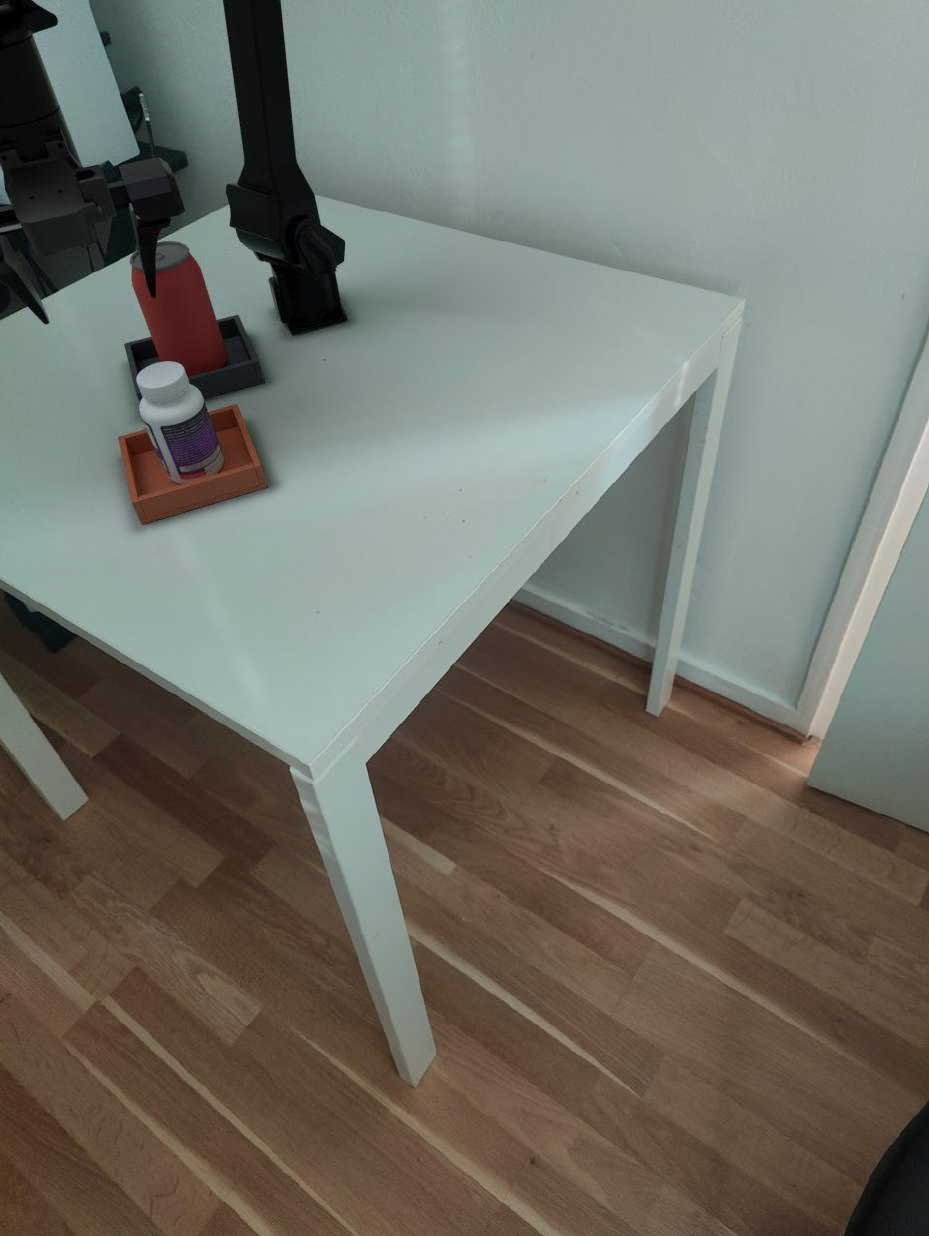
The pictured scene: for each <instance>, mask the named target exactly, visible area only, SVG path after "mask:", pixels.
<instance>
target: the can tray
mask: <svg viewBox="0 0 929 1236" xmlns="http://www.w3.org/2000/svg"><path fill="white" fill-rule="evenodd" d="M216 320H217V323H218V326H219V329H220V333H221V336H222V339H223V342H224V346H225V349H226V352H227V361H226V363H225V365H224V367H223V368H220V369H216V370H212V371H208V372H204V373H201V374H197V375H193V376H189V377H188V380H189V384H191V385H193V386H195V387H196V388H197V389H198V390H199V391H200V392H201V394H202V396H203V398H204V400H206V399H209V398H213V397H216V396H221V395H224V394H228V393H232V392H235V391H238V390H242V389H246V388H249V387H253V386H257V385H261V384H265V383H266V382H265V378H264V374H263V369H262V367H261V363H260V360H259V358H258V356H257V353H256V351H255V349H254V347H253V344H252V342H251V340H250V338H249V335H248V333H247V331H246V328H245V326H244V324H243V322H242V320H241V317H240V315H239V314H235V315H229V316H227V317H223V318H219V319H218V318H217V319H216ZM123 346H124V350H125V355H126V357H127V362H128V366H129V370H130V375H131V378H132V382H133V385H134V390H135V394H136V397H137V400H138V402H139V403H140V402H141V400H142V398H143V396H142V394H141V392H140V389H139V387H138V384H137V381H136V378H137V375H138V374H139V373H140V372H141V371H142V370H143V369H144V368H146V367H148V366H150V365H152V364H155V363H159V362H161V361H160V358H159V356H158V353H157V350H156V348H155V345H154V342H153V340H152V337H151V336H148V337H143V338H140V339H136V340H132V341H128V342H125V343H123Z"/></svg>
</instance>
